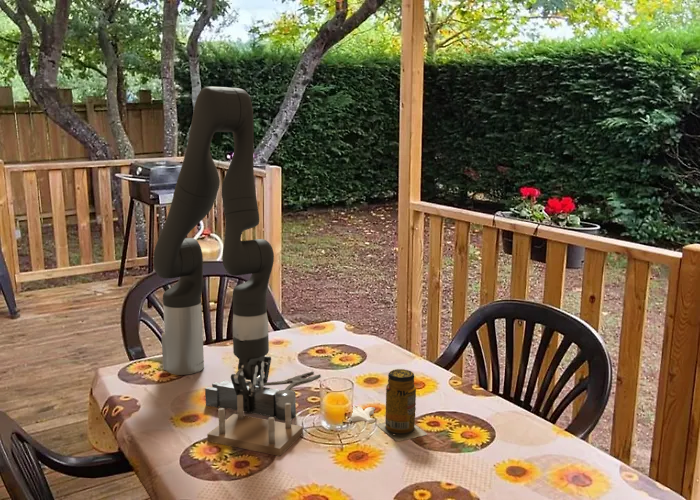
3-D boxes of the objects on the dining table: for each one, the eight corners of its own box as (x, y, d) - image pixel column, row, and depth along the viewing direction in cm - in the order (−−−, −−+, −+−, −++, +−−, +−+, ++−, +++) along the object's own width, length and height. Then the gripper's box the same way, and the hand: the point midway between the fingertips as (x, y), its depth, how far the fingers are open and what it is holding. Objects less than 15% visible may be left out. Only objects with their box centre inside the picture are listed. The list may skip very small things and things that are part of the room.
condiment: (406, 418, 144) (407, 364, 142) (427, 435, 137) (429, 379, 134) (376, 425, 141) (376, 370, 139) (396, 442, 134) (397, 385, 131)
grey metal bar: (205, 405, 150) (204, 384, 149) (216, 398, 154) (215, 377, 153) (290, 421, 143) (289, 399, 142) (299, 413, 147) (299, 391, 146)
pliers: (235, 391, 157) (292, 365, 173) (235, 394, 157) (292, 368, 173) (266, 401, 152) (322, 374, 167) (266, 405, 152) (322, 377, 168)
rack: (207, 441, 134) (206, 410, 133) (234, 420, 143) (233, 391, 142) (279, 456, 128) (279, 423, 127) (302, 433, 137) (302, 403, 136)
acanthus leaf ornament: (342, 426, 142) (342, 417, 142) (341, 412, 149) (340, 404, 148) (377, 424, 142) (377, 416, 142) (375, 411, 149) (375, 403, 149)
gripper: (251, 321, 153) (253, 393, 156) (217, 340, 140) (220, 418, 143) (281, 325, 150) (283, 398, 153) (249, 344, 137) (251, 424, 140)
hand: (252, 408), depth 148 cm, fingers closed on grey metal bar, 3 cm apart
